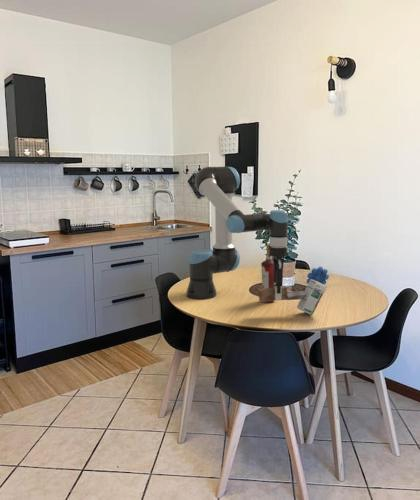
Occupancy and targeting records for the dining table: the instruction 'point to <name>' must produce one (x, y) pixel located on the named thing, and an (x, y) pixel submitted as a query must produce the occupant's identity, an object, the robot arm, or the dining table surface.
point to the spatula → (269, 294)
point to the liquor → (267, 271)
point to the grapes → (318, 275)
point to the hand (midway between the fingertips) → (277, 298)
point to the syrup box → (311, 297)
